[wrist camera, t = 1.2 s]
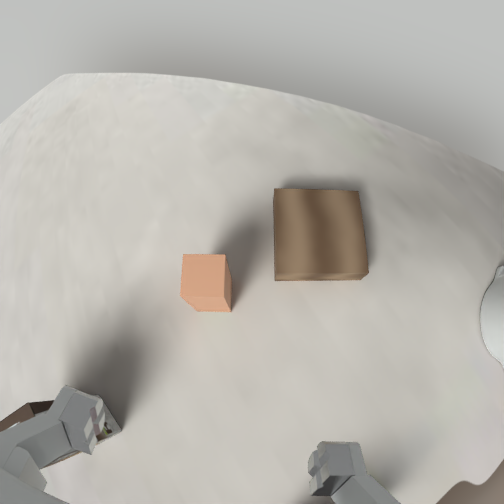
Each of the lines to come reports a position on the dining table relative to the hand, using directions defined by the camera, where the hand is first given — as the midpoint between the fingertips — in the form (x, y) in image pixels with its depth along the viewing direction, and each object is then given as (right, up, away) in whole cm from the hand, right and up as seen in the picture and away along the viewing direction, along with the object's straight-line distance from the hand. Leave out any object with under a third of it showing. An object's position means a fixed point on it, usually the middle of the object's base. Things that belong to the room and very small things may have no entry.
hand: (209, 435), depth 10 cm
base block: (+11, +8, +35) cm, 38 cm away
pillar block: (-3, +1, +32) cm, 33 cm away
